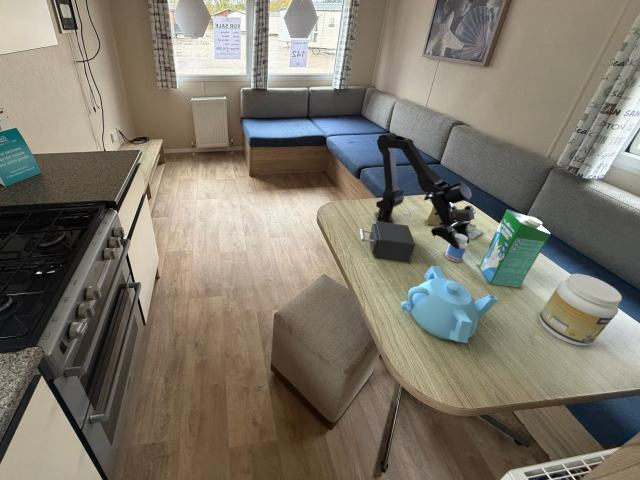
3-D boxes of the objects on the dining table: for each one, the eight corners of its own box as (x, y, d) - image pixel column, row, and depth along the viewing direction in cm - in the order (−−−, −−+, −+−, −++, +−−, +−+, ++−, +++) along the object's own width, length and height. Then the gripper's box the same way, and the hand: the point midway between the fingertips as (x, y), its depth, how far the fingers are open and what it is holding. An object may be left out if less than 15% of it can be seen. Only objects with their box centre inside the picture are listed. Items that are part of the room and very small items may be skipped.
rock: (453, 216, 141) (430, 207, 145) (461, 208, 133) (436, 199, 137) (446, 236, 138) (422, 226, 142) (452, 230, 130) (428, 219, 134)
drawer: (359, 252, 118) (362, 237, 115) (357, 235, 128) (360, 221, 125) (402, 259, 115) (407, 244, 112) (397, 241, 125) (401, 227, 122)
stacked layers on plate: (448, 227, 136) (452, 217, 134) (458, 222, 141) (462, 211, 138) (472, 239, 129) (477, 228, 126) (482, 233, 133) (487, 222, 131)
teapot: (453, 358, 82) (472, 322, 75) (390, 309, 95) (401, 276, 89) (485, 324, 91) (504, 290, 85) (423, 285, 105) (435, 253, 99)
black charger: (375, 257, 117) (380, 239, 113) (371, 238, 128) (376, 221, 124) (409, 263, 115) (415, 244, 111) (402, 242, 126) (408, 225, 122)
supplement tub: (585, 356, 83) (623, 312, 75) (531, 324, 92) (559, 282, 84) (595, 333, 90) (631, 291, 82) (544, 306, 98) (571, 265, 90)
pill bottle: (462, 263, 115) (471, 242, 111) (446, 259, 117) (454, 239, 112) (459, 255, 120) (468, 234, 115) (444, 251, 122) (452, 231, 117)
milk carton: (519, 288, 105) (554, 227, 93) (490, 283, 107) (521, 223, 95) (505, 270, 113) (537, 212, 101) (478, 266, 114) (506, 208, 103)
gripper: (449, 207, 106) (472, 250, 103) (476, 194, 115) (497, 233, 112) (422, 215, 115) (441, 255, 112) (448, 203, 124) (467, 239, 121)
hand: (463, 245), depth 114 cm, fingers open, 7 cm apart
